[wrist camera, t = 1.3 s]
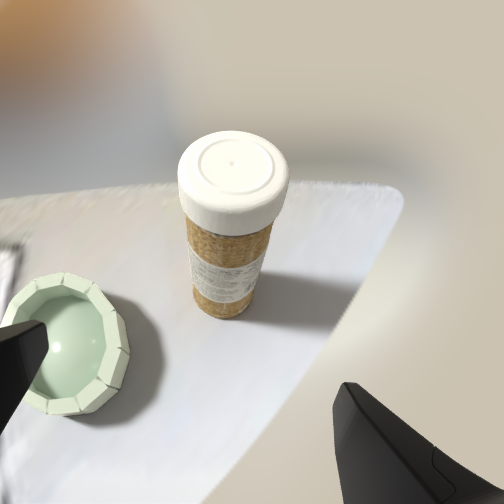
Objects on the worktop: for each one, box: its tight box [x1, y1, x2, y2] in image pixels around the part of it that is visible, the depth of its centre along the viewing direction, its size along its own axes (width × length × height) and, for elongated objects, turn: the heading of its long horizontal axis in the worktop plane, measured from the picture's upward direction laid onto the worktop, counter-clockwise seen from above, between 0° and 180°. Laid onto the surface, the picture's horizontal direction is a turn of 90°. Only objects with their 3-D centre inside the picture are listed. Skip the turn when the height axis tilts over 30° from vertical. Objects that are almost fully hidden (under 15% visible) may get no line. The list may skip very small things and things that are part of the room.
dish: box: [0, 272, 130, 416], centre depth 19 cm, size 10×10×2 cm
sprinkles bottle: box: [178, 131, 290, 318], centre depth 18 cm, size 5×5×14 cm
